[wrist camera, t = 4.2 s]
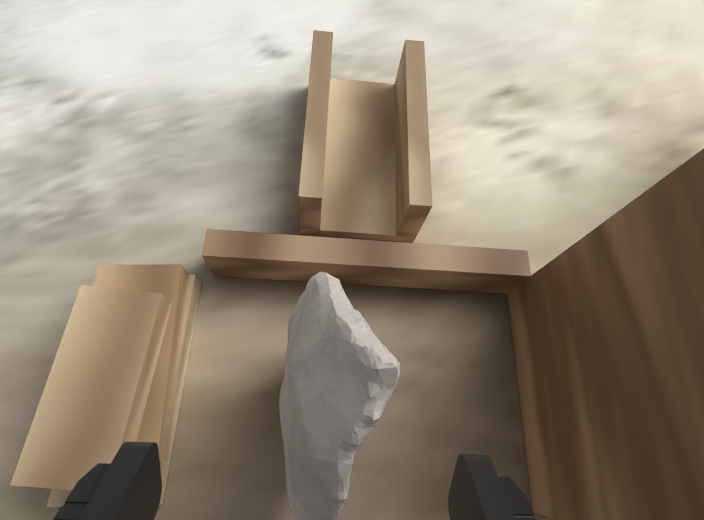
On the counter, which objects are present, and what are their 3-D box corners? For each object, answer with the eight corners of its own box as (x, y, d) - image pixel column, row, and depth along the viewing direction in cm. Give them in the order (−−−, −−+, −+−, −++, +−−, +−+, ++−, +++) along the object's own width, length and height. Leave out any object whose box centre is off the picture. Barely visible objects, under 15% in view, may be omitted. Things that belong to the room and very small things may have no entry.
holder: (300, 234, 26) (298, 196, 22) (312, 85, 31) (313, 30, 27) (413, 242, 27) (432, 206, 22) (408, 94, 31) (423, 41, 27)
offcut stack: (64, 502, 20) (-1, 519, 16) (121, 279, 24) (82, 245, 20) (169, 504, 20) (133, 521, 16) (207, 283, 24) (186, 251, 20)
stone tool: (279, 324, 24) (239, 167, 10) (337, 320, 24) (374, 163, 10) (286, 513, 20) (241, 670, 7) (353, 504, 21) (443, 635, 7)
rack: (176, 504, 20) (-1286, 1222, 2) (217, 252, 25) (-30, -257, 7) (563, 512, 21) (2084, 954, 3) (529, 271, 26) (1025, -106, 8)
